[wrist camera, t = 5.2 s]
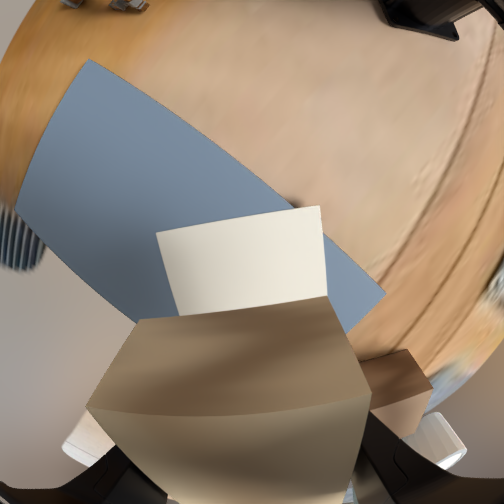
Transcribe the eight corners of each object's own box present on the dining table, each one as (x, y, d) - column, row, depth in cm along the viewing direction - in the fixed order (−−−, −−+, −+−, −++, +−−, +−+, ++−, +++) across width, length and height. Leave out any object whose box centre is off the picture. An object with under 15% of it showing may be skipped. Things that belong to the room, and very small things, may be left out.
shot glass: (427, 437, 24) (444, 474, 17) (387, 447, 24) (402, 489, 17) (454, 403, 22) (477, 442, 15) (414, 413, 21) (436, 460, 15)
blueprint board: (19, 217, 15) (10, 220, 14) (105, 50, 12) (97, 45, 11) (265, 403, 20) (265, 413, 19) (399, 285, 17) (406, 291, 16)
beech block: (327, 295, 8) (372, 393, 4) (327, 437, 10) (340, 506, 7) (139, 319, 8) (85, 406, 5) (204, 448, 11) (194, 514, 7)
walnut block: (406, 348, 19) (433, 388, 14) (396, 395, 20) (414, 433, 16) (350, 363, 19) (369, 410, 14) (347, 408, 21) (359, 451, 16)
